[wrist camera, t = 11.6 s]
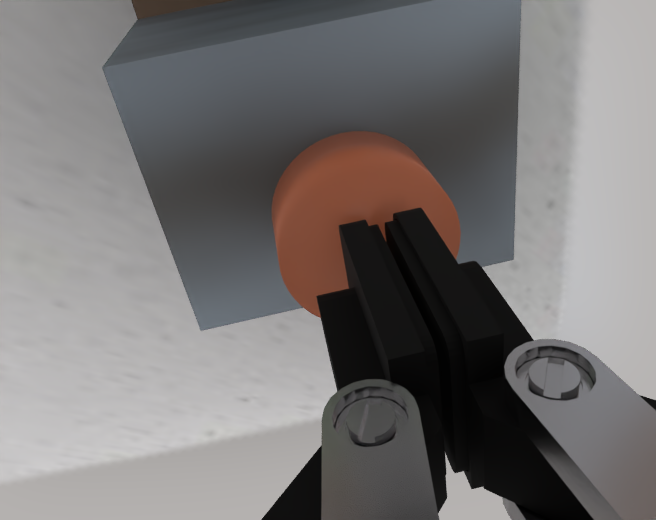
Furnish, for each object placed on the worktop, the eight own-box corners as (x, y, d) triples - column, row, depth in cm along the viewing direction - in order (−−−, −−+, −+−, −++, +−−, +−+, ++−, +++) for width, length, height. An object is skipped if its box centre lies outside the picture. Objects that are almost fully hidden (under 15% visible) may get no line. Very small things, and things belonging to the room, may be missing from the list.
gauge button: (436, 258, 15) (463, 303, 13) (289, 291, 15) (298, 341, 13) (426, 114, 13) (458, 146, 11) (254, 151, 13) (259, 189, 11)
